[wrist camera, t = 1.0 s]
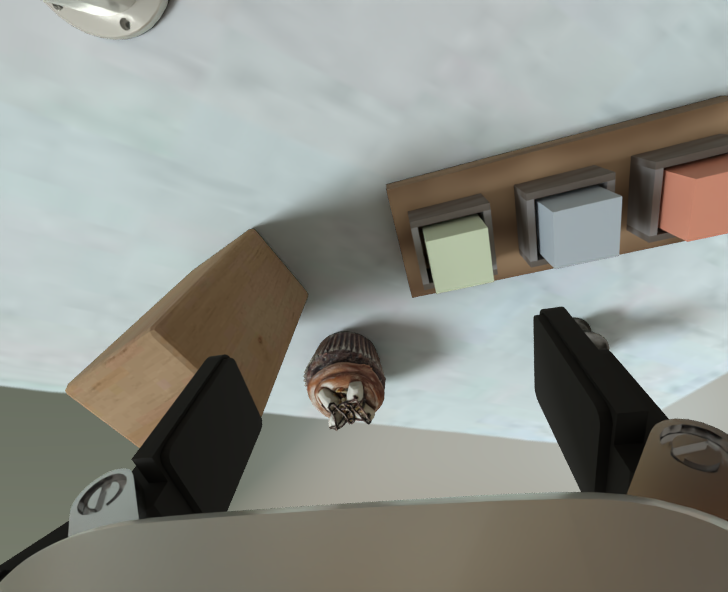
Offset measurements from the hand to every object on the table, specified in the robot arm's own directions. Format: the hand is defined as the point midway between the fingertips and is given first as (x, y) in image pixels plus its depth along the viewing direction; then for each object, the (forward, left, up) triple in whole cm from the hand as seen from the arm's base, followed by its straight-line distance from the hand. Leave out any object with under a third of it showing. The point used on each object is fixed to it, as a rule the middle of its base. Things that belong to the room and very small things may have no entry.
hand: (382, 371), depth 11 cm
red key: (+6, +25, -24) cm, 35 cm away
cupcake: (+20, -10, -30) cm, 37 cm away
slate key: (+7, +15, -24) cm, 29 cm away
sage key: (+6, +5, -24) cm, 26 cm away
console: (+7, +15, -29) cm, 34 cm away
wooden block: (+8, -18, -30) cm, 35 cm away
